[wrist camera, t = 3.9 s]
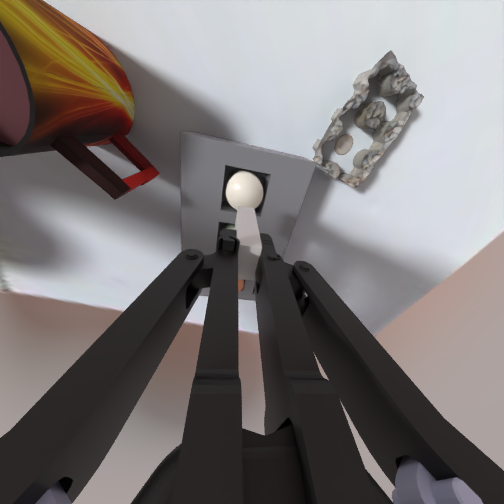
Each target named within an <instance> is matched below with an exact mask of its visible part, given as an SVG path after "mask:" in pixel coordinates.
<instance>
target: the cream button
mask: <svg viewBox="0 0 504 504" xmlns="http://www.w3.org/2000/svg"><path fill="white" fill-rule="evenodd" d="M226 197H227V200H228V202H229V204H230V205H231V206H232V207H233V208H235V209H236V210H237V209H238V206H242V207H249V208H254V209H255V208H256V207H257V206H258V205H259V204H260V203H261V201H262V198H263V188H262V185H261V182H260V180H259V178H258V176H257V175H256V173H254V172H253V171H252V170H247V169H238V170H236V171H234V172H233V173H232V174H231V175H230V177H229V179H228V183H227V188H226Z"/></svg>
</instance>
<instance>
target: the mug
mask: <svg viewBox="0 0 504 504" xmlns="http://www.w3.org/2000/svg"><path fill="white" fill-rule="evenodd" d="M134 112H135V107H134V98H133V94H132V90H131V86H130V84H129V81H128V79H127V76H126V74H125V72H124V70H123V69H122V67H121V65H120V63H119V62H118V60H117V59H116V58H115V56H114V55H113V54H112V52H111V51H110V50H109V48H108V47H107V46H106V45H105V44H104V43H103V42H102V41H101V40H100V39H99V38H98V37H96V36H95V35H94V34H92V33H91V32H90V31H89V30H87V29H86V28H84V27H83V26H81V25H80V24H78V23H77V22H75V21H74V20H72V19H70V18H69V17H67V16H66V15H64V14H63V13H61V12H60V11H58V10H57V9H55V8H54V7H52V6H51V5H49V4H48V3H46V2H44V1H43V0H0V157H3V156H12V155H20V154H28V153H37V152H45V151H54V150H56V151H58V152H59V153H60V154H61V155H62V156H64V157H65V158H66V159H67V160H68V161H70V162H71V163H72V164H73V165H74V166H76V167H77V168H78V169H79V170H80V171H82V172H83V173H84V174H85V175H86V176H88V177H89V178H90V179H91V180H92V181H94V182H95V183H96V184H97V185H99V186H100V187H101V188H102V189H103V190H105V191H106V192H107V193H108V194H109V195H110V196H111V197H112V198H113V199H115V200H116V199H117V198H119V197H121V196H122V195H124V194H126V193H128V192H129V191H131V190H133V189H135V188H136V187H138V186H140V185H144V184H145V183H147V182H149V181H150V180H152V179H154V178H155V177H156V176H158V175H159V174H160V173H159V172H158V171H157V170H156V168H155V167H154V166H153V165H152V164H151V163H150V162H149V161H148V160H147V159H146V158H145V157H144V156H143V155H142V154H141V153H140V152H139V151H138V150H137V149H136V148H135V147H134V146H133V145H132V144H131V142H130V141H129V140H128V139H127V138H126V137H125V136H126V135H127V134H128V132H129V130H130V129H131V127H132V124H133V120H134ZM110 143H113V144H114V145H115V146H116V147H117V148H118V149H119V150H120V151H121V152H122V153H123V154H124V155H125V156H126V157H127V158H128V159H129V160H130V161H131V162H132V163H133V164H134V165H135V166H136V167H137V168H138V169H139V170H140V171H141V172H138V173H136V174H134V175H132V176H129V177H127V178H125V179H121V178H120V177H119V176H117V175H116V174H115V173H114V172H113V171H112V170H111V169H110V168H109V167H108V166H106V165H105V164H104V163H103V162H102V161H101V160H100V159H99V158H98V157H96V156H95V155H94V154H93V153H92V152H91V151H90V150H89V149H88V148H87V146H96V145H104V144H110Z"/></svg>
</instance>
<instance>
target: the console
mask: <svg viewBox="0 0 504 504" xmlns="http://www.w3.org/2000/svg"><path fill="white" fill-rule="evenodd" d="M316 164H317V163H315V162H313V161H310V160H308V159H306V158H304V157H300V156H296V155H291V154H287V153H283V152H278V151H274V150H270V149H265V148H261V147H256V146H252V145H248V144H243V143H239V142H235V141H230V140H226V139H222V138H217V137H213V136H209V135H204V134H200V133H195V132H180V171H181V244H182V251H184V250H187V249H197V250H199V251H201V252H202V253H203V255H209V254H213V253H215V252H216V251H217V241H218V238H219V237H220V231H221V230H222V229H223V228H224V226H225V225H227V224H228V223H231V224H235V222H236V215H237V210H236V209H235V208H233V207H232V206H231V205H230V204H229V202H228V200H227V197H226V188H227V183H228V179H229V177H230V175H231V174H232V173H233V172H234V171H236V170H238V169H247V170H252V171H253V172H254V173H256V175H257V176H258V178H259V180H260V182H261V185H262V188H263V198H262V201H261V203H260V204H259V205H258V206H257V207H256V208H255V214H256V219H257V224H258V229H259V233H264V234H269V235H270V236H271V237H272V240H273V244H274V247H275V250H276V253H277V254H279V255H280V256H281V257H282V258H283V255H284V253H285V250H286V247H287V244H288V242H289V239H290V236H291V233H292V230H293V228H294V225H295V222H296V219H297V217H298V214H299V211H300V208H301V205H302V203H303V200H304V197H305V194H306V192H307V189H308V186H309V183H310V180H311V178H312V175H313V172H314V169H315V167H316ZM255 281H256V278H254V281H252V280H244V286H243V289H242V290H241V291H240V292H238V299H243V300H255V301H256V299H255V292H254V294H252V292H253V288H254V284H255ZM209 292H210V287H208V288H202V291H201V293H200V294H199V296H209Z"/></svg>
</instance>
